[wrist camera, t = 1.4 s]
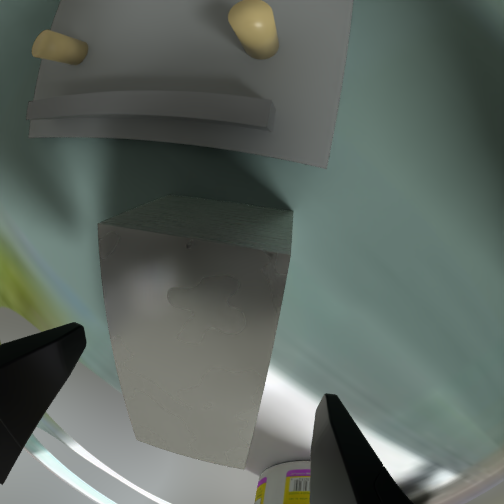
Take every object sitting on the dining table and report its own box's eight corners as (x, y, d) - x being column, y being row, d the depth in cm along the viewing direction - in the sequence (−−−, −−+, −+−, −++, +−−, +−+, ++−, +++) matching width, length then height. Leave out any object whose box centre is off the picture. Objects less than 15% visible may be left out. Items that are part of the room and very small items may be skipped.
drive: (293, 210, 11) (290, 255, 6) (259, 393, 15) (244, 469, 10) (171, 193, 12) (97, 223, 7) (172, 374, 15) (136, 439, 10)
